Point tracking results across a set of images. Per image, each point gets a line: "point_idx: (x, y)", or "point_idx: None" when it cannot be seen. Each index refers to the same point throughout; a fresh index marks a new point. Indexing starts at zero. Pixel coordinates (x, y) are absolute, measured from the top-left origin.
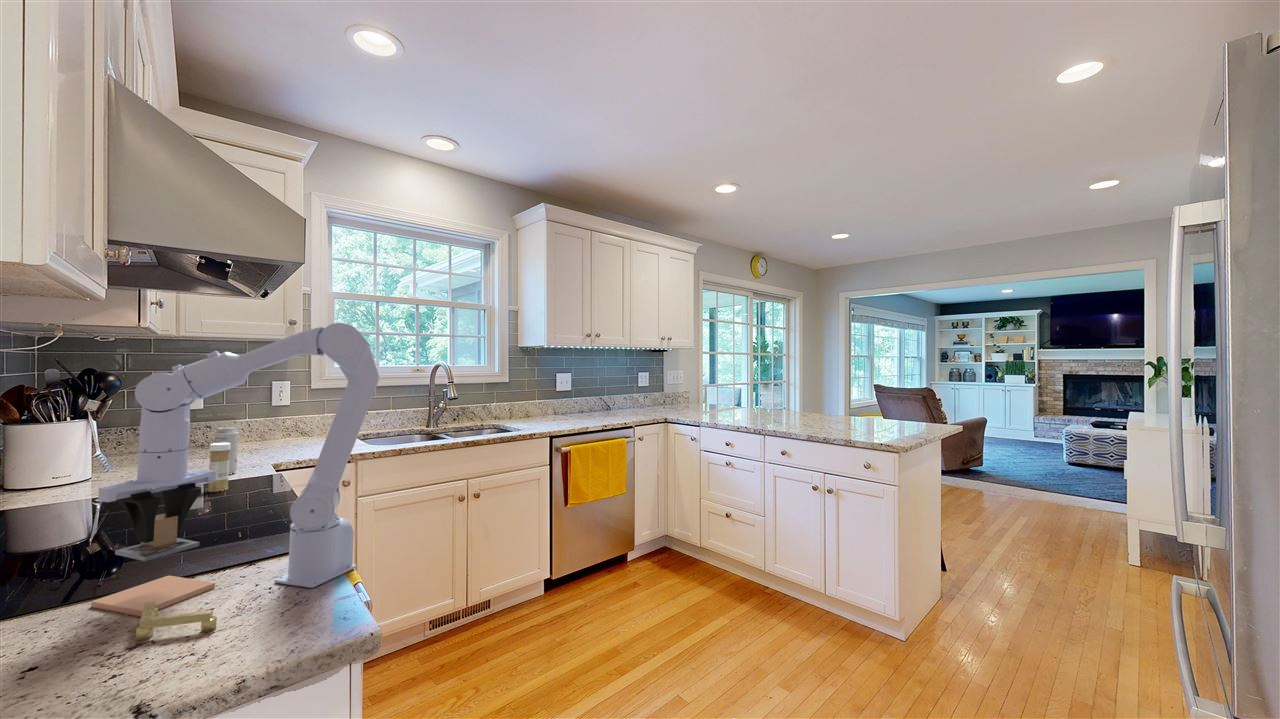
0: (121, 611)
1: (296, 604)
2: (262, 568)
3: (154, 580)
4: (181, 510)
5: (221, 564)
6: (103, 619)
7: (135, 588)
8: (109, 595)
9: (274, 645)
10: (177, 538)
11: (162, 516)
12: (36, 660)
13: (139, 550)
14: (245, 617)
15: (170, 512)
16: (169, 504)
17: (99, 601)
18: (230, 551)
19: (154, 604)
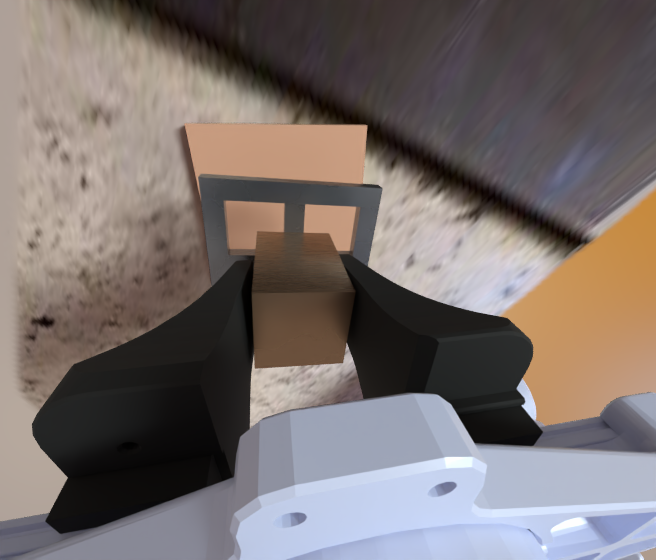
0: None
1: None
2: (452, 256)
3: (331, 128)
4: (360, 377)
5: (473, 143)
6: (177, 228)
7: (280, 139)
8: (226, 125)
9: None
10: (369, 234)
11: (312, 331)
12: (53, 300)
13: (240, 256)
14: (285, 392)
15: (361, 314)
16: (374, 335)
17: (195, 147)
18: (577, 54)
19: None
